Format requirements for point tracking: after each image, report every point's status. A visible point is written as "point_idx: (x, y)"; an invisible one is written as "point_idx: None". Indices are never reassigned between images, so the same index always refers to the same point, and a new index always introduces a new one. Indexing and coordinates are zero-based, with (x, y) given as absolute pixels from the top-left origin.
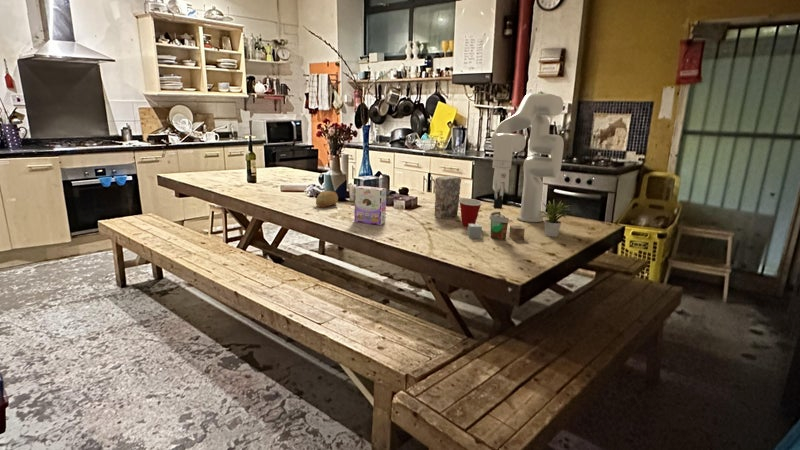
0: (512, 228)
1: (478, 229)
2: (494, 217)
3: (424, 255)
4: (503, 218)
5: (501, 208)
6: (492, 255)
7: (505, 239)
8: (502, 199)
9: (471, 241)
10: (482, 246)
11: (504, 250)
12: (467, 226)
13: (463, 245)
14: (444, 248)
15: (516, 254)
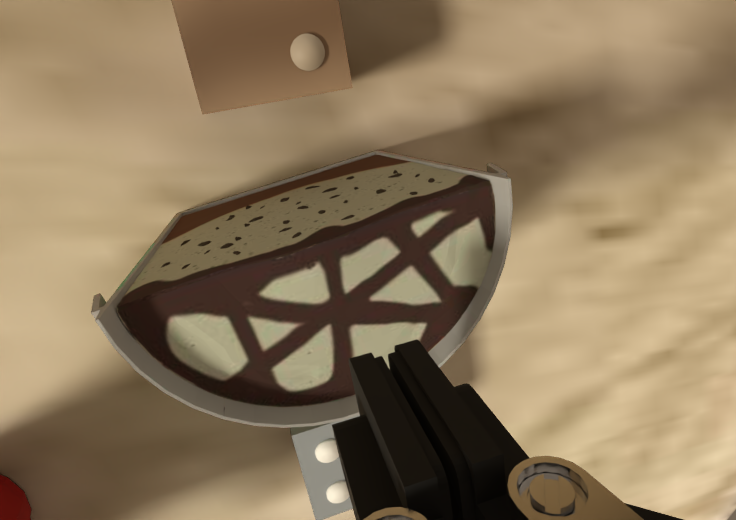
0: (333, 90)
1: None
2: (443, 353)
3: (729, 515)
4: (500, 243)
5: (417, 341)
6: (730, 232)
7: (381, 152)
8: (558, 458)
9: (474, 389)
10: (571, 307)
11: (637, 160)
12: (29, 513)
13: (568, 412)
14: (631, 479)
15: (712, 76)
